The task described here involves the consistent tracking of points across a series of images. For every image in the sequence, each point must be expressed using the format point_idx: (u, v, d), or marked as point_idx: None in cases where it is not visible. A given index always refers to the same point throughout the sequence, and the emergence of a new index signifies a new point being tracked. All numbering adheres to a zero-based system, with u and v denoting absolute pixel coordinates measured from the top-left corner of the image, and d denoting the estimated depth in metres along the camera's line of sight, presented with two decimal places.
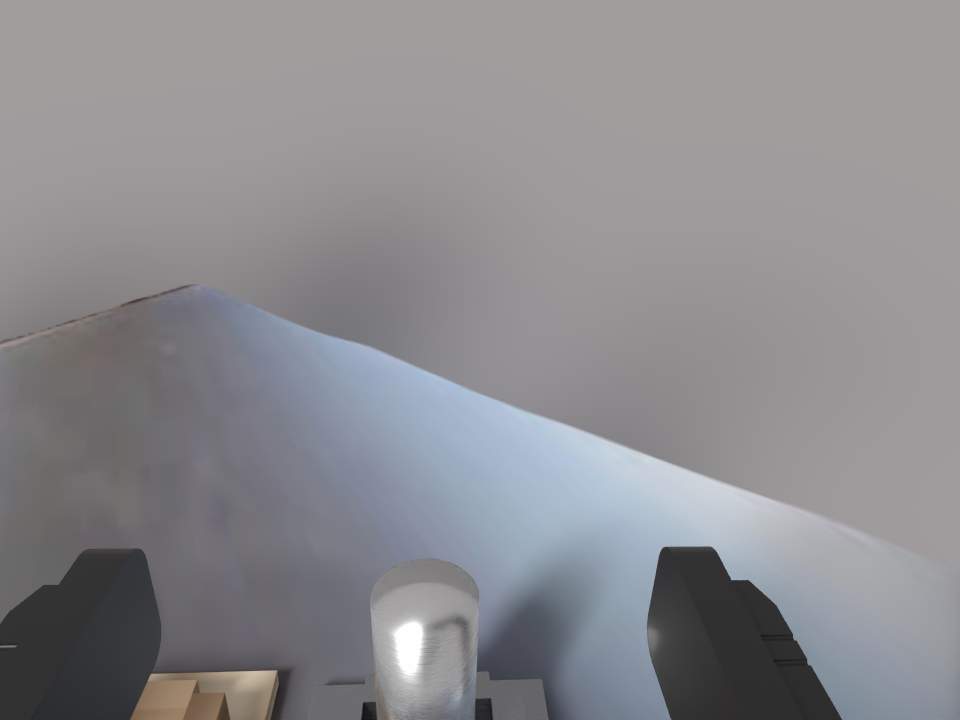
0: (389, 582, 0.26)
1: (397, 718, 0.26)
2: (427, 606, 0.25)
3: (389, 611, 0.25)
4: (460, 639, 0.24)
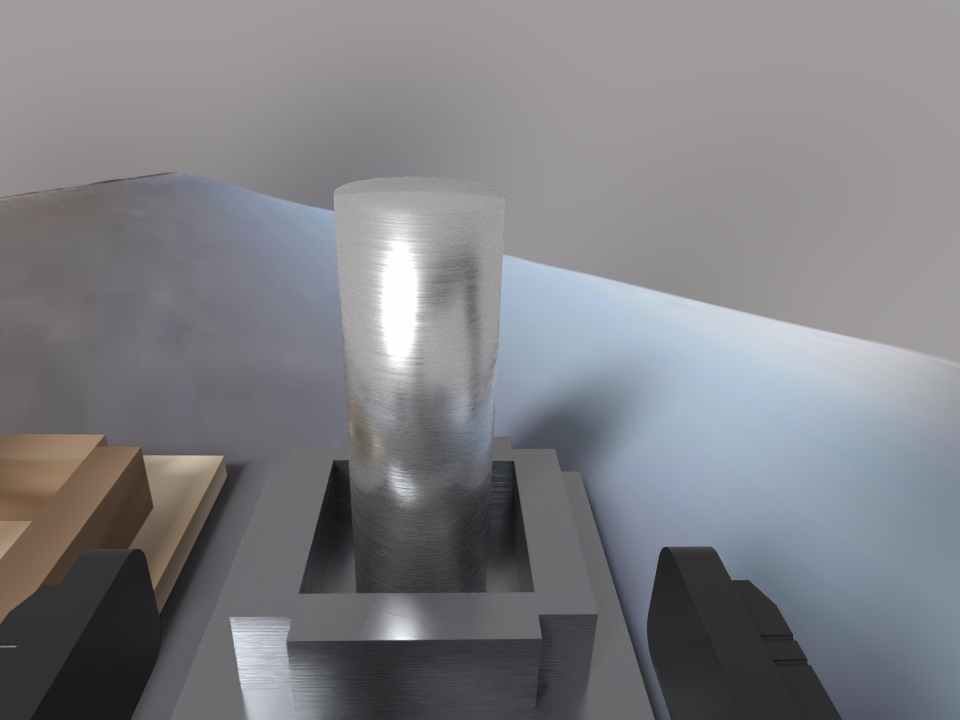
0: (365, 184, 0.17)
1: (374, 391, 0.17)
2: (424, 197, 0.16)
3: (362, 198, 0.16)
4: (476, 234, 0.15)
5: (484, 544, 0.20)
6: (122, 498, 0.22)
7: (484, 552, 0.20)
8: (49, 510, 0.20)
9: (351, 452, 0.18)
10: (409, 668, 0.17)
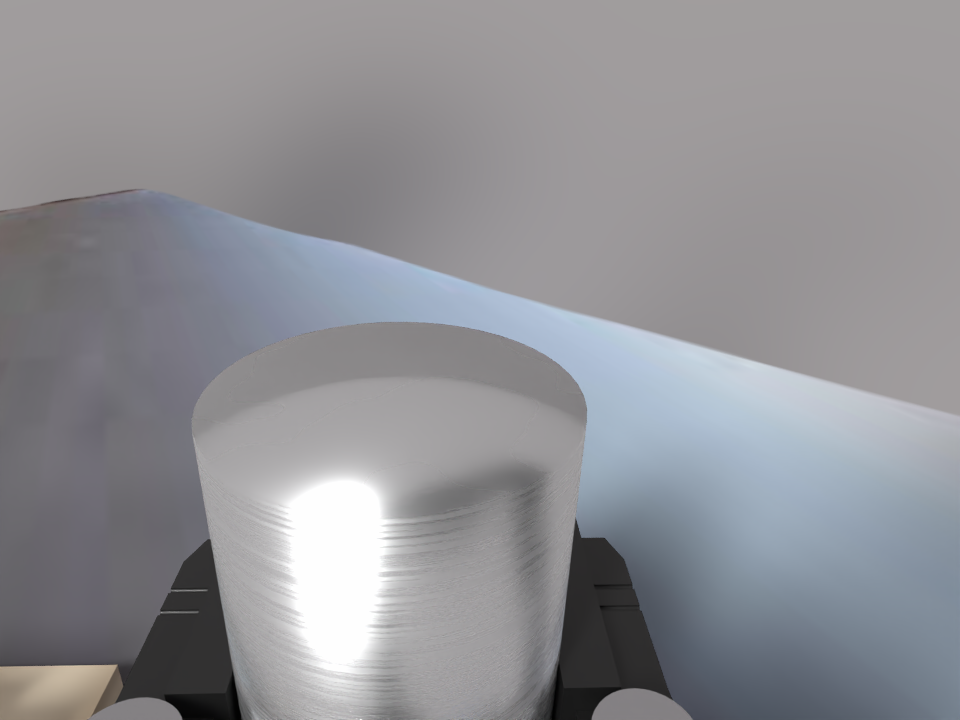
0: (280, 362, 0.08)
1: None
2: (403, 417, 0.07)
3: (256, 429, 0.07)
4: (527, 532, 0.06)
5: None
6: None
7: None
8: None
9: None
10: None
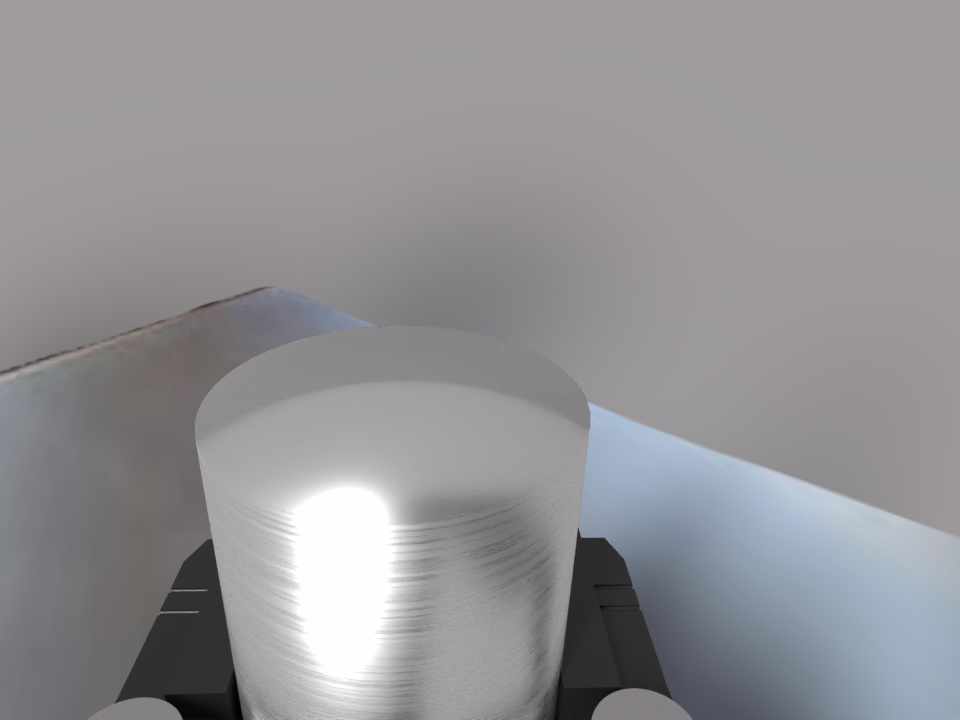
0: (282, 366, 0.08)
1: None
2: (406, 422, 0.07)
3: (260, 433, 0.07)
4: (532, 537, 0.06)
5: None
6: None
7: None
8: None
9: None
10: None
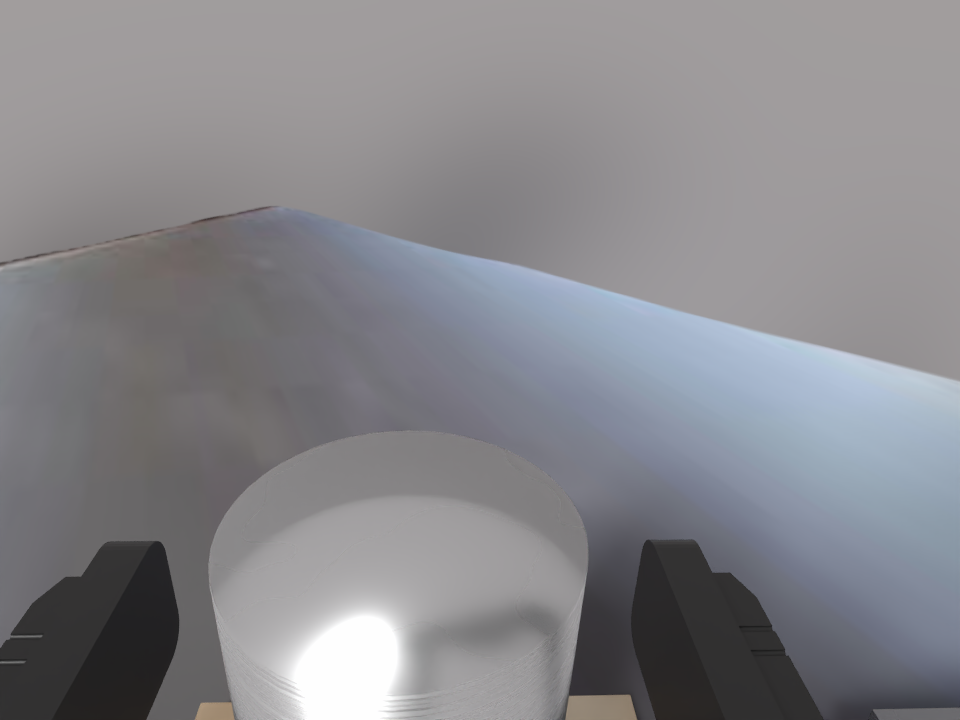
0: (291, 487, 0.08)
1: None
2: (411, 562, 0.07)
3: (271, 578, 0.07)
4: (532, 688, 0.06)
5: None
6: None
7: None
8: None
9: None
10: None
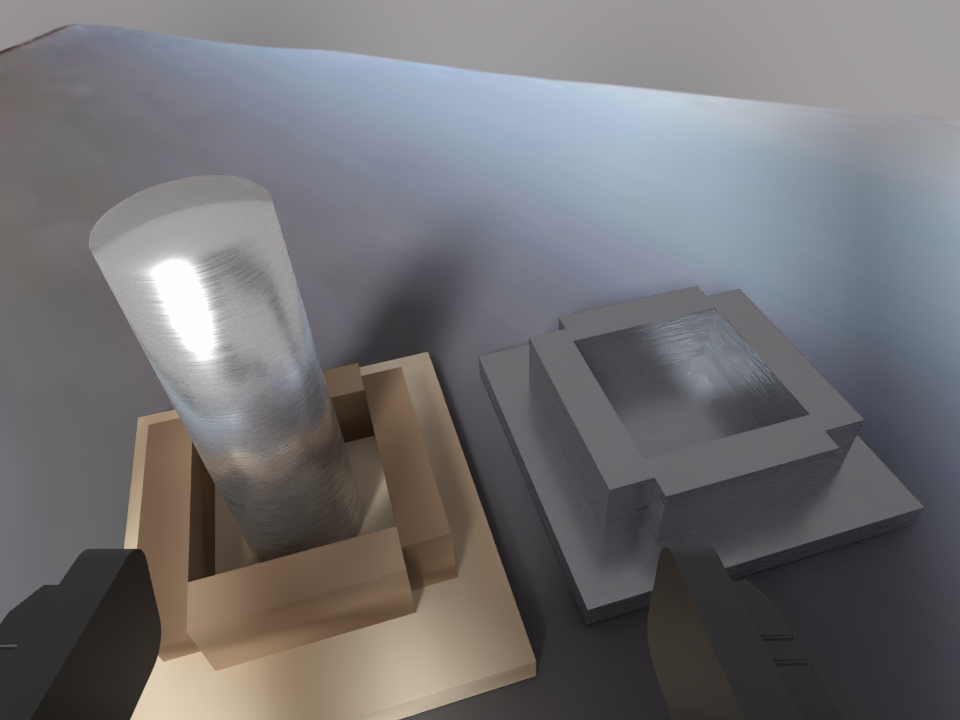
0: (123, 213, 0.16)
1: (199, 413, 0.17)
2: (186, 228, 0.15)
3: (120, 246, 0.15)
4: (249, 265, 0.15)
5: (349, 487, 0.22)
6: None
7: (351, 492, 0.22)
8: (383, 442, 0.23)
9: (199, 454, 0.19)
10: (744, 491, 0.22)
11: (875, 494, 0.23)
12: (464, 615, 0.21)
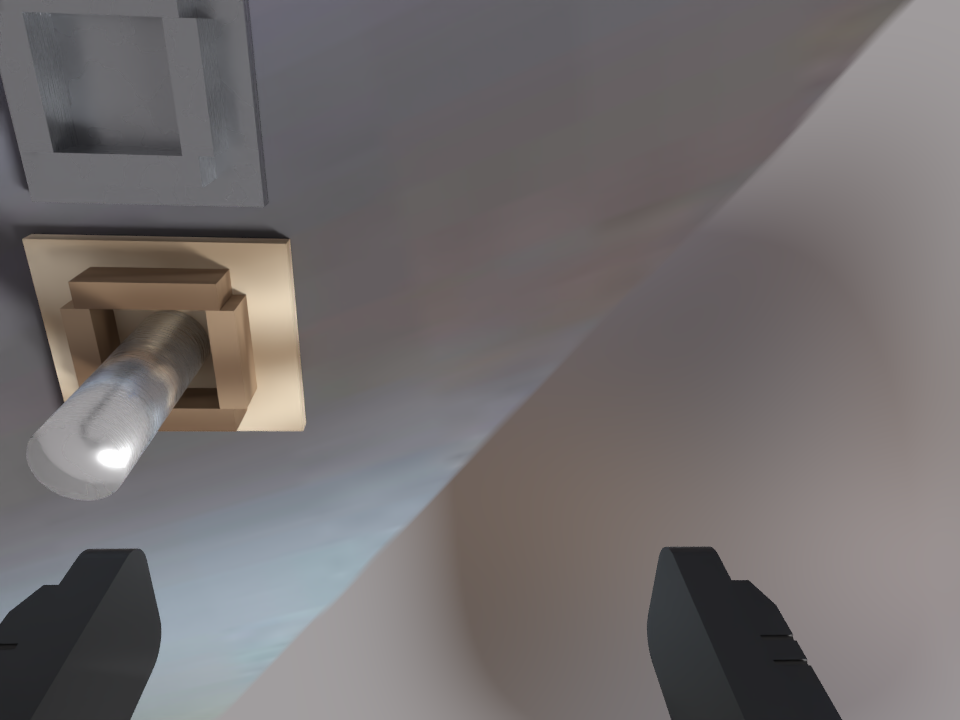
0: (65, 488, 0.30)
1: None
2: (87, 461, 0.29)
3: (99, 487, 0.30)
4: (113, 431, 0.29)
5: (170, 329, 0.37)
6: (110, 277, 0.36)
7: (171, 326, 0.38)
8: (140, 305, 0.36)
9: None
10: (212, 92, 0.33)
11: None
12: (253, 271, 0.39)
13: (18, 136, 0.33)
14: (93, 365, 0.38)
